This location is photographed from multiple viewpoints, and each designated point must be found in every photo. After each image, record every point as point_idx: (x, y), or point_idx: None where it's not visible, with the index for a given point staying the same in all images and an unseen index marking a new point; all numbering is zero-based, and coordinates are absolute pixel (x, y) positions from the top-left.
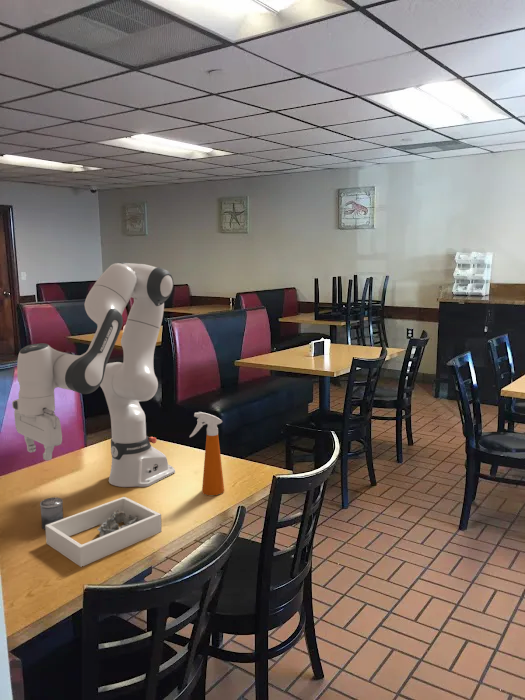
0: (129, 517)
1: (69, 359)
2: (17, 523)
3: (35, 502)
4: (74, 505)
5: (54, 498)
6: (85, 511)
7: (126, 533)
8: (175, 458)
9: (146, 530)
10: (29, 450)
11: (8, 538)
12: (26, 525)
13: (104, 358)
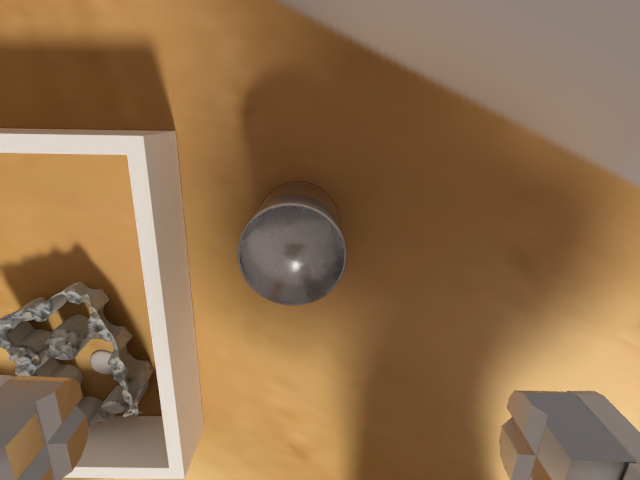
0: (100, 410)
1: None
2: (430, 136)
3: (545, 277)
4: (393, 354)
5: (319, 285)
6: (157, 322)
7: None
8: None
9: None
10: (537, 404)
11: (330, 42)
12: (383, 153)
13: None
